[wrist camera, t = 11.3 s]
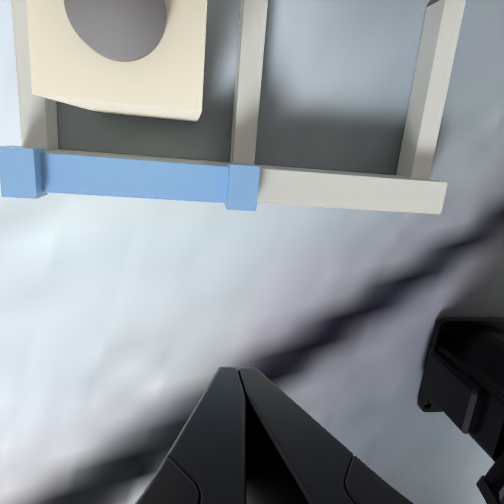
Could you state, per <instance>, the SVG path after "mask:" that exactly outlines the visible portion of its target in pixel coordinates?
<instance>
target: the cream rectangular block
mask: <svg viewBox="0 0 504 504" xmlns="http://www.w3.org/2000/svg"><path fill="white" fill-rule="evenodd" d="M26 4H27V21H28V37H29V53H30V70H31V86H32V94H34V95H37V96H41V97H45V98H48V99H52V100H55V101H59V102H63V103H66V104H70V105H74V106H77V107H81V108H85V109H88V110H92V111H96V112H100V113H110V114H120V115H131V116H141V117H151V118H161V119H172V120H182V121H192V122H197V121H198V119H199V117H200V114H201V112H202V98H203V78H204V58H205V38H206V18H207V0H26Z"/></svg>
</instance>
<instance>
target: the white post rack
mask: <svg viewBox="0 0 504 504" xmlns="http://www.w3.org/2000/svg"><path fill="white" fill-rule="evenodd" d="M465 2H466V0H439V1H438V2H436V3H434V4H432V5H430V6H428V7H427V8H426V13H425V18H424V24H423V29H422V35H421V40H420V46H419V51H418V57H417V62H416V68H415V73H414V79H413V84H412V90H411V95H410V101H409V106H408V112H407V118H406V123H405V129H404V134H403V140H402V145H401V151H400V156H399V162H398V167H397V173H396V175H386V174H373V173H360V172H347V171H334V170H322V169H309V168H296V167H283V166H270V165H257V164H254V162H255V150H256V138H257V126H258V114H259V102H260V90H261V78H262V66H263V54H264V42H265V30H266V18H267V7H268V0H241V2H240V17H239V32H238V47H237V62H236V77H235V92H234V107H233V122H232V137H231V152H230V162H218V161H206V160H193V159H180V158H167V157H154V156H141V155H128V154H115V153H102V152H90V151H77V150H64V149H59V144H58V124H57V103H56V101H55V100H52V99H48V98H45V97H41V96H37V95H34V94H32V86H31V70H30V53H29V37H28V21H27V4H26V0H11V3H12V16H13V30H14V43H15V57H16V70H17V84H18V97H19V111H20V124H21V138H22V146H0V183H1V194H2V197H18V198H36V199H37V198H39V197H42V196H44V195H47V194H48V192H50V193H67V194H84V195H101V196H117V197H134V198H151V199H167V200H184V201H201V202H217V203H225V206H226V208H227V209H228V210H246V211H256V208H257V203H264V204H280V205H297V206H313V207H330V208H346V209H363V210H379V211H396V212H412V213H429V214H441V211H442V207H443V202H444V197H445V193H446V188H447V184H448V183H446V182H440V181H435V180H429V177H430V173H431V168H432V163H433V158H434V153H435V148H436V143H437V138H438V134H439V129H440V124H441V119H442V114H443V109H444V104H445V99H446V95H447V90H448V85H449V80H450V75H451V70H452V65H453V60H454V56H455V51H456V46H457V41H458V36H459V31H460V26H461V21H462V16H463V12H464V7H465Z"/></svg>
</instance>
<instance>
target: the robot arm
mask: <svg viewBox="0 0 504 504" xmlns="http://www.w3.org/2000/svg"><path fill="white" fill-rule="evenodd" d="M445 325H446V327H445V328H444V329H443V327H444V326H445ZM427 402H428V403H427ZM426 403H427V404H426ZM418 406H419V407H420V409H421V410H422V411H424V412H444V413H445V414H446V415H447V416H448V417H449V418H450V419H451V420H452V421H453V423H454V424H455V425H456V426H457V427H458V428H459V429H460V430H461V431H462V432H463V433H464V434H469V435H470V436H471V437H472V438H473V439H474V440H475V441H476V442H477V443H478V444H479V446H480V447H481V448H482V449H483V450H484V451H485V452H486V453H487V454H488V455H489V456H490V457H491V458H492V459H493V460H494V461H495V463H494V464H493V465H492V467H491V468H490V469H489V471H488V472H487V473H486V475H485V476H482V477H481V478H480V479H479V481H478V482H477V483H476V485H477V487H478V488H479V490H480V492H481V494H482V495H483V497H484V499H485V501H486V503H487V504H504V318H441V319H439V320H438V321H437V322H436V325H435V329H434V333H433V337H432V342H431V346H430V350H429V354H428V359H427V363H426V367H425V371H424V376H423V380H422V384H421V389H420V393H419V398H418ZM135 504H413V503H412V502H411V501H409V500H408V499H407V498H405V497H404V496H403V495H401V494H400V493H399V492H398V491H396V490H395V489H394V488H392V487H391V486H390V485H389V484H388V483H387V482H385V481H384V480H383V479H382V478H381V477H379V476H378V475H377V474H376V473H375V472H373V471H372V470H371V469H370V468H369V467H368V466H367V465H365V464H364V463H363V462H362V461H361V460H360V459H359V458H357V457H356V456H353V453H352V452H350V451H349V450H348V449H347V448H346V447H345V446H344V445H343V444H341V443H340V442H339V441H338V440H337V439H336V438H335V437H333V436H332V435H331V434H330V433H329V432H328V431H327V430H326V429H324V428H323V427H322V426H321V425H320V424H319V423H318V422H317V421H315V420H314V419H313V418H312V417H311V416H310V415H309V414H307V413H306V412H305V411H304V410H303V409H302V408H301V407H300V406H298V405H297V404H296V403H295V402H294V401H293V400H292V399H291V398H289V397H288V396H287V395H286V394H285V393H284V392H283V391H281V390H280V389H279V388H278V387H277V386H276V385H275V384H274V383H272V382H271V381H270V380H269V379H268V378H267V377H266V376H265V375H263V374H262V373H261V372H260V371H259V370H258V369H256V368H243V367H241V368H239V369H237V368H235V367H220V368H219V369H218V370H217V372H216V374H215V375H214V377H213V379H212V380H211V382H210V384H209V385H208V387H207V389H206V390H205V392H204V394H203V395H202V397H201V399H200V400H199V402H198V404H197V406H196V407H195V409H194V411H193V412H192V414H191V416H190V417H189V419H188V421H187V422H186V424H185V426H184V427H183V429H182V431H181V432H180V434H179V436H178V437H177V439H176V441H175V442H174V444H173V446H172V447H171V449H170V451H169V453H168V454H167V456H166V458H165V459H164V461H163V462H162V464H161V466H160V467H159V469H158V471H157V472H156V474H155V475H154V477H153V478H152V480H151V482H150V483H149V485H148V486H147V488H146V489H145V491H144V492H143V494H142V495H141V496H140V498H139V499H138V500H137V502H136V503H135Z"/></svg>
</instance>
